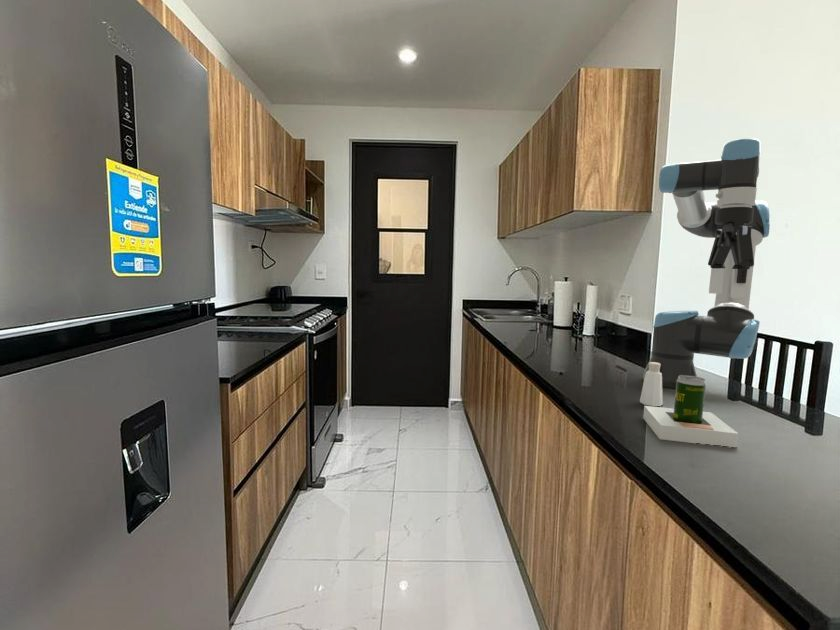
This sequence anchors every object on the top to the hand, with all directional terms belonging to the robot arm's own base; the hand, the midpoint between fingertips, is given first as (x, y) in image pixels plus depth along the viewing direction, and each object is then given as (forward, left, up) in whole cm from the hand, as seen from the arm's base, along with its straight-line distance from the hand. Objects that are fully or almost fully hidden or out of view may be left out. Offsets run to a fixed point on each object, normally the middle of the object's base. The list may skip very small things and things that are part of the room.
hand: (725, 295), depth 110 cm
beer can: (+20, -12, -30) cm, 37 cm away
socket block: (+20, -12, -29) cm, 37 cm away
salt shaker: (-1, -14, -30) cm, 33 cm away
